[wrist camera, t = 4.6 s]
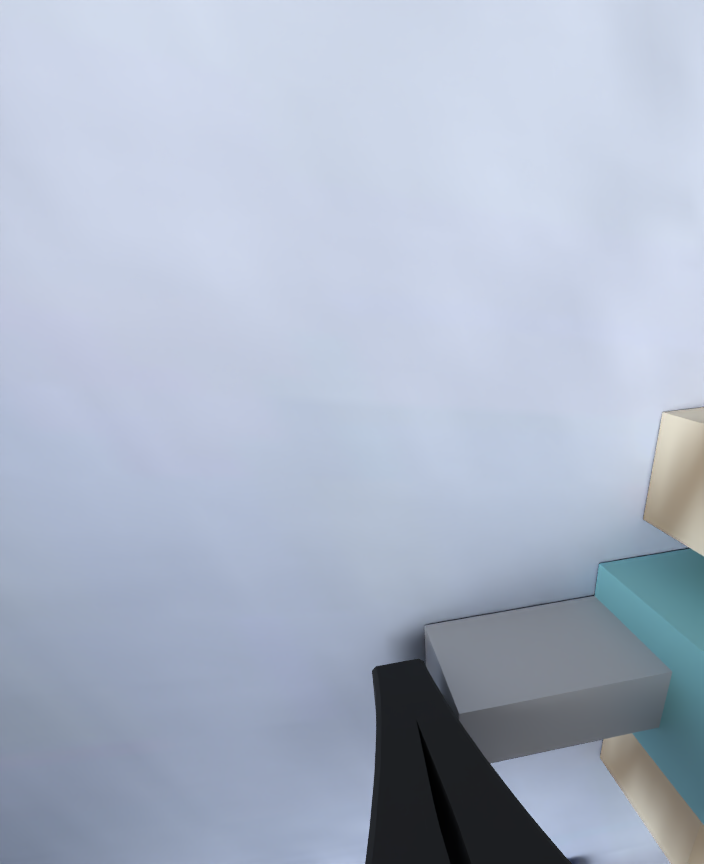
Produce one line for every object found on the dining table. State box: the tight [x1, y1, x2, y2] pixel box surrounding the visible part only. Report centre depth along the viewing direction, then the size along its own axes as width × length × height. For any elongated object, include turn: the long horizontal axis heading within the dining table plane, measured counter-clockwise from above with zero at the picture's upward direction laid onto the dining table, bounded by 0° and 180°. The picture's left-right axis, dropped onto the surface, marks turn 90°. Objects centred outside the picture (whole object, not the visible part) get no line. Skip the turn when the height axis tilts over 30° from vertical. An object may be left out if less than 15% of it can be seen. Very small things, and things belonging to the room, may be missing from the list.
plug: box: [425, 548, 704, 825], centre depth 9 cm, size 4×10×5 cm, turn 95°
